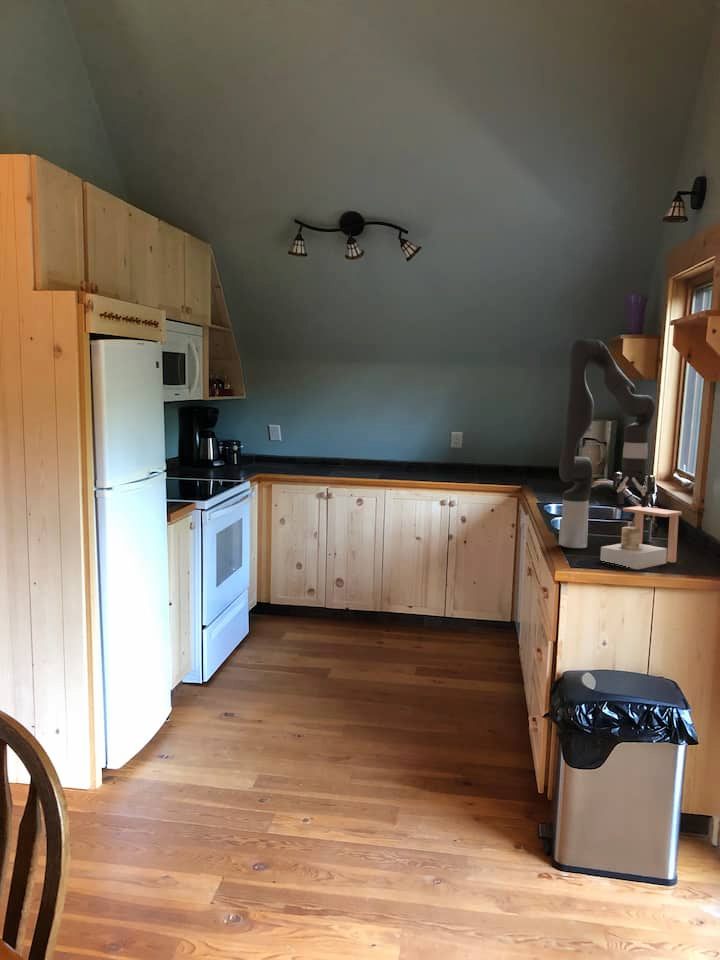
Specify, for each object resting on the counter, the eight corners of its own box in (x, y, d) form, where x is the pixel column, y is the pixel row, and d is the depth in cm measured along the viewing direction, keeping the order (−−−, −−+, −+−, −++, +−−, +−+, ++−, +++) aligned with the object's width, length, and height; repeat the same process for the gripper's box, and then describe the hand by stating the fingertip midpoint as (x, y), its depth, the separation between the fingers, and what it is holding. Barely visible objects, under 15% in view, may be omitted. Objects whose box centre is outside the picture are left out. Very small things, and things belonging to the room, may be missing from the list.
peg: (620, 562, 244) (621, 527, 243) (627, 561, 246) (629, 526, 245) (630, 565, 241) (632, 529, 240) (638, 563, 243) (639, 527, 242)
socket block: (600, 561, 246) (600, 546, 245) (629, 556, 255) (629, 541, 255) (637, 569, 235) (638, 554, 234) (666, 563, 244) (666, 548, 243)
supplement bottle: (644, 543, 278) (645, 512, 277) (628, 540, 283) (629, 510, 282) (654, 541, 282) (656, 510, 281) (638, 539, 287) (640, 508, 286)
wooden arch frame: (620, 556, 254) (622, 508, 252) (636, 553, 259) (639, 505, 258) (662, 565, 241) (665, 514, 239) (679, 561, 246) (681, 511, 245)
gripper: (609, 455, 243) (606, 503, 245) (647, 458, 232) (644, 509, 234) (623, 454, 248) (620, 501, 250) (661, 457, 236) (658, 507, 238)
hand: (632, 505), depth 242 cm, fingers open, 8 cm apart
